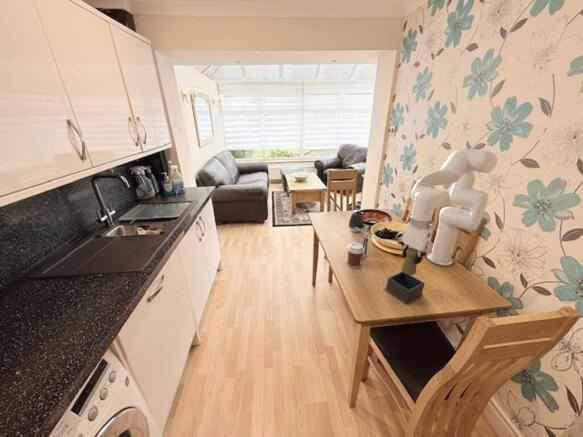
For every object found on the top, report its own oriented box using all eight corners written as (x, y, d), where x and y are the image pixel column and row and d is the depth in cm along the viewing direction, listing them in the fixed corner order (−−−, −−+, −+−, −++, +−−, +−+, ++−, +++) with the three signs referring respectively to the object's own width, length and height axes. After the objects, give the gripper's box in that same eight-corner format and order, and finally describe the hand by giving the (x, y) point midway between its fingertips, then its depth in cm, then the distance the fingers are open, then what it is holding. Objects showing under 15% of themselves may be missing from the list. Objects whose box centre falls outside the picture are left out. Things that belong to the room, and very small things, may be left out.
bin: (400, 281, 118) (403, 270, 115) (421, 294, 109) (424, 283, 107) (385, 289, 113) (388, 277, 110) (406, 303, 104) (409, 291, 101)
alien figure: (346, 249, 146) (349, 220, 139) (352, 247, 149) (356, 218, 141) (371, 265, 130) (376, 234, 123) (378, 262, 133) (383, 232, 125)
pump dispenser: (364, 233, 165) (367, 213, 159) (349, 233, 165) (351, 213, 159) (360, 227, 174) (363, 208, 168) (346, 227, 175) (348, 208, 169)
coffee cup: (363, 270, 127) (365, 250, 122) (345, 268, 128) (347, 249, 124) (361, 260, 135) (364, 242, 130) (345, 258, 137) (347, 240, 132)
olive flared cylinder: (414, 276, 102) (420, 254, 98) (399, 272, 105) (404, 250, 101) (416, 269, 107) (422, 248, 102) (402, 265, 110) (406, 244, 105)
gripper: (446, 227, 92) (435, 267, 99) (406, 213, 105) (399, 248, 112) (435, 232, 88) (424, 272, 95) (395, 217, 101) (388, 253, 109)
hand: (411, 259), depth 104 cm, fingers closed on olive flared cylinder, 5 cm apart
